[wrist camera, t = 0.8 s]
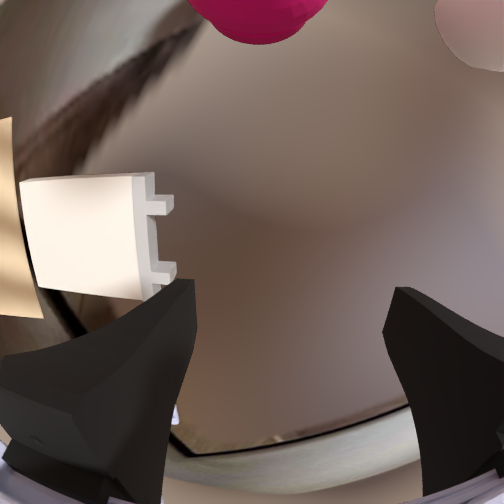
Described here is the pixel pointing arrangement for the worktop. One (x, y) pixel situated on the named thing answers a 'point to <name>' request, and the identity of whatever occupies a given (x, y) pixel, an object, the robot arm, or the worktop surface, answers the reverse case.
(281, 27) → the pepper mill
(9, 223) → the dock
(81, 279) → the white tabbed block
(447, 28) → the foam cup
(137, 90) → the worktop surface
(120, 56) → the worktop surface
